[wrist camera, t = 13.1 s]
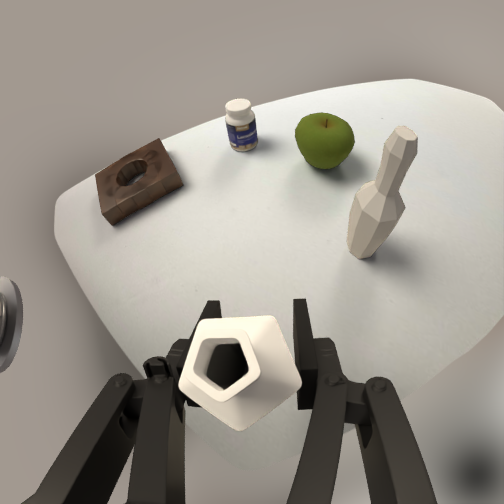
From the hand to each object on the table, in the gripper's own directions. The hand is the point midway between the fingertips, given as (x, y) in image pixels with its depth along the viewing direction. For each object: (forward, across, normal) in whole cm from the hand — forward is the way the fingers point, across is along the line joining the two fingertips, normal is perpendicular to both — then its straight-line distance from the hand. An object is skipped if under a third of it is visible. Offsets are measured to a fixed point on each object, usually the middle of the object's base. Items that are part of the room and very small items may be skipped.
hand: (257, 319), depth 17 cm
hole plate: (+37, -26, +8) cm, 46 cm away
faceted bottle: (+25, +14, -3) cm, 29 cm away
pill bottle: (+43, -5, +14) cm, 46 cm away
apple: (+39, +11, +10) cm, 41 cm away
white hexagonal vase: (+1, 0, -6) cm, 7 cm away
